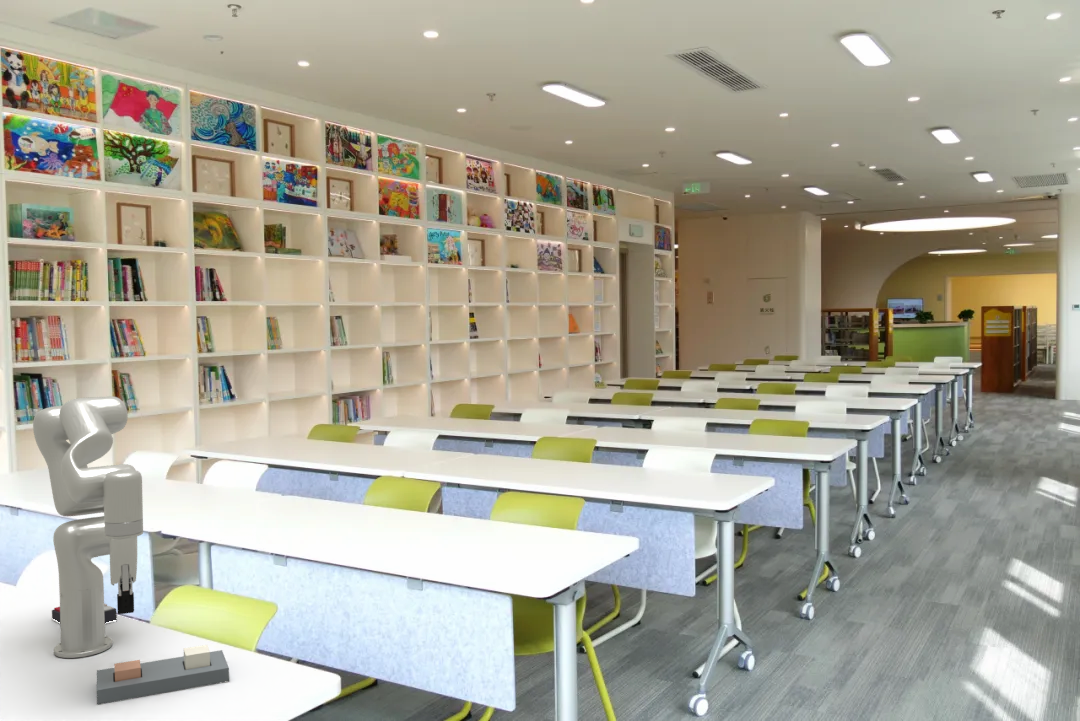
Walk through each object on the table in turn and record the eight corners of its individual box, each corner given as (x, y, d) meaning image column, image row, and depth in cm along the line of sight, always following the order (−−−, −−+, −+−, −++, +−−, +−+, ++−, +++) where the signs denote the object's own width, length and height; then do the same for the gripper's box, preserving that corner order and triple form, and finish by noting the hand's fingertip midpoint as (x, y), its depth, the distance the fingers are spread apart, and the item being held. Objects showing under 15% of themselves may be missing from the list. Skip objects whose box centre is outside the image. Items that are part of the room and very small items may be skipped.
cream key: (184, 666, 198) (183, 648, 198) (207, 662, 201) (207, 644, 200) (186, 673, 194) (185, 655, 194) (210, 669, 196) (209, 651, 196)
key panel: (97, 683, 194) (96, 670, 194) (222, 662, 205) (222, 650, 205) (96, 704, 183) (96, 690, 183) (229, 681, 195) (228, 667, 194)
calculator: (93, 597, 245) (116, 605, 235) (94, 613, 245) (117, 622, 235) (51, 607, 237) (73, 616, 227) (51, 623, 237) (73, 632, 227)
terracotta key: (114, 681, 192) (114, 663, 192) (140, 677, 194) (139, 659, 194) (115, 690, 188) (114, 671, 187) (141, 685, 190) (140, 667, 190)
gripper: (104, 522, 195) (106, 604, 196) (104, 537, 181) (106, 625, 182) (141, 519, 198) (143, 600, 199) (144, 533, 185) (146, 620, 185)
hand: (125, 612), depth 191 cm, fingers closed
